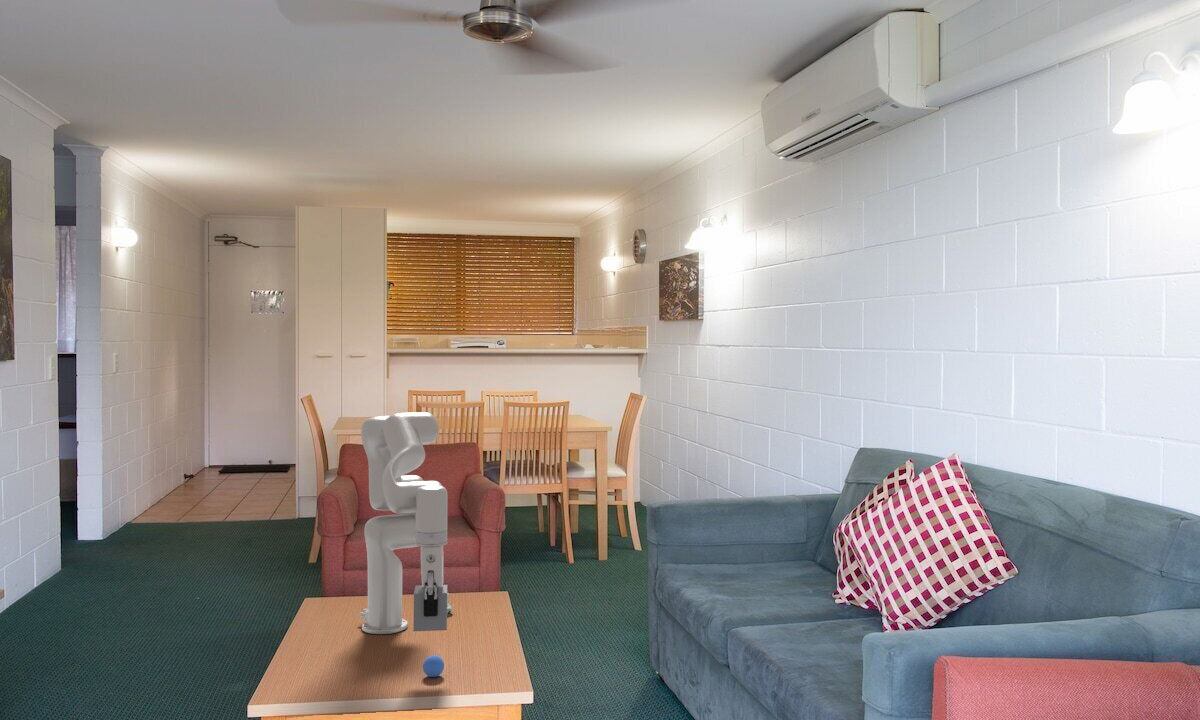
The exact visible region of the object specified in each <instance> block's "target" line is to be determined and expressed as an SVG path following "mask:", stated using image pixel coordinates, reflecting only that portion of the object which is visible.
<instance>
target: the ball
mask: <svg viewBox="0 0 1200 720" xmlns="http://www.w3.org/2000/svg"><path fill="white" fill-rule="evenodd" d="M444 668H445V662H444V660H443V658H442V657H441V656H439V655H437V654H432V655H429V656H428V657H426V658H425V659H424V661H423V664H422V669H423V672H424V674H425V675H426V676H427V677H429V678H436V677H438V676H440V675H441V674H442V673H443V671H444Z"/></svg>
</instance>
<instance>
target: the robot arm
mask: <svg viewBox="0 0 1200 720" xmlns="http://www.w3.org/2000/svg"><path fill="white" fill-rule="evenodd" d="M439 429H440V428H439V424H438V421H437V419H436V417H435V416H434V415H433V414H432V413H431V412H400V413H399V412H397V413H394V414H391V415H381V416H380V415H379V416H373V417H369V418H367V419H366V420H364V421H363V423H362V425H361V429H360V430H361V431H360V435H361V436H360V438H361V443H362V446H363V449H364V451H365V454H366V457H367V461H368V462H367V463H368V498H369V504H370V506H371V508H372V509H374V510H375V511H391V512H392V513H394V514H387V515H386V514H385V515H377V516H374V517H371V518H369V519H368V520H367V522H365V524H364V529H363V531H364V532H363V533H364V541H365V547H366V554H367V555H366V556H367V608H363V609H362V610H361V611H360V612H359V614H358V615H359V617H360V618H364V622H363V623H362V624H361V630H362V631H363V632H365V633H367V634H373V635H388V634H395V633H398V632H402V631H404V630H406V629H407V628H408V627H409V624H408V623H409V622H408V621H407V620H406V619H404V618H403V564H402V561H401V560H400V558H399V556H397V555H396V554H395V552H394V550H399V549H408V548H409V549H410V548H417V547H420V577H421V585H422V587H423V588H425V599H424V616H425V617H429V616H437V615H438V599H437V586H438V587H439V586H440V588H442V587H443V585H444V562H445V561H444V546H446V545H448V497H449V496H448V495H449V494H448V490H447V488H446V487H445V486H443V484H442V483H441V482H439V481H437V480H424V479H423V478H422V477H421V476H419V475H415V474H409V473H411V472H412V471H414V470H416V469H418V468H419V467H420V466H421V465H423V463H424V461H425V459H426V451H425V447H424V446H425V445H431V444H434V443H435V442H436V441H437V439H438V437H439ZM407 474H409V475H407ZM427 585H428V586H427ZM433 585H435V586H433Z"/></svg>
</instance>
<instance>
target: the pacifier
mask: <svg viewBox="0 0 1200 720" xmlns="http://www.w3.org/2000/svg"><path fill="white" fill-rule="evenodd" d="M449 600H450V593H449V592H447V615H448V614H449V612H451V611H453V610H454V609H453V608H452V606H451V603H449Z"/></svg>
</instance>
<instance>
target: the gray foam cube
mask: <svg viewBox="0 0 1200 720" xmlns="http://www.w3.org/2000/svg"><path fill="white" fill-rule="evenodd" d="M427 586H428V585H427ZM433 586H435V585H433ZM447 593H448V584H443V587H442V588H440V586H439V587H438V586H437V599H438V615H437V616H429V617H425V616H424V599H425V588H423V587H422V584H421V585H415V586H414V591H413V625H412V626H413V632H429V631H430V632H434V631H447V630H448V614H447V607H448V606H447V603H448V602H447Z"/></svg>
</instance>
